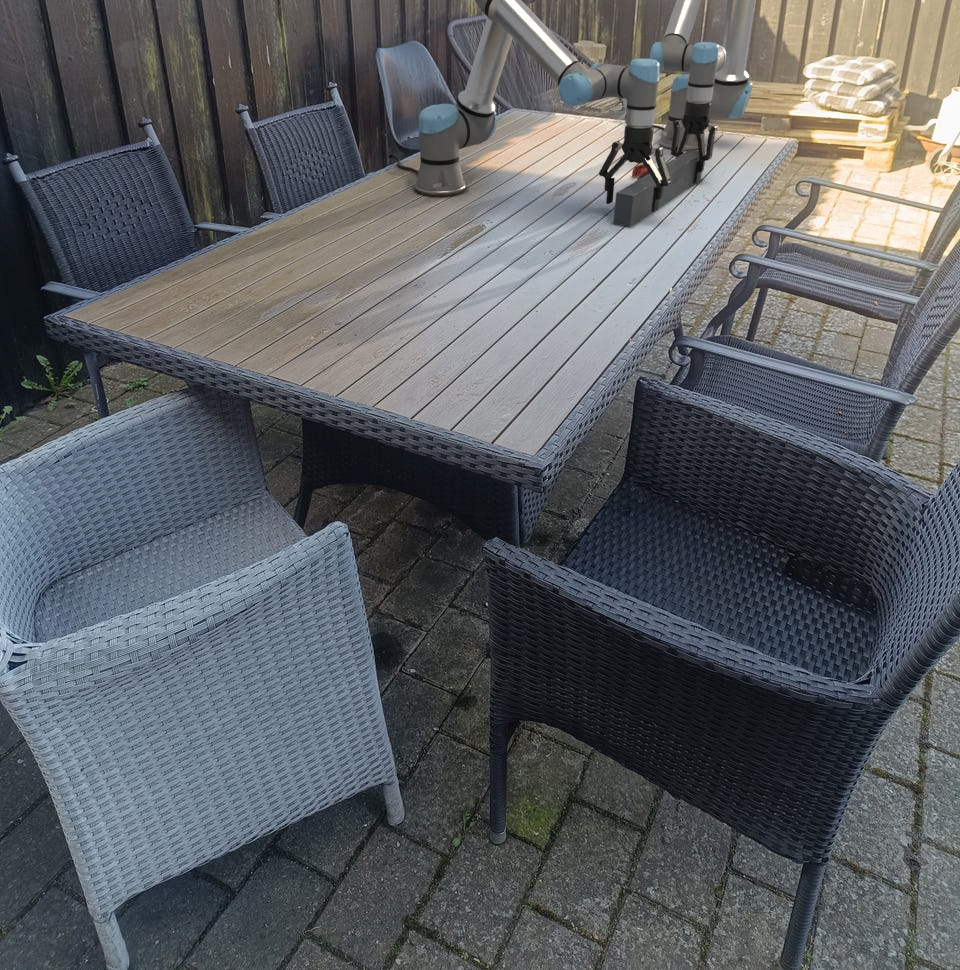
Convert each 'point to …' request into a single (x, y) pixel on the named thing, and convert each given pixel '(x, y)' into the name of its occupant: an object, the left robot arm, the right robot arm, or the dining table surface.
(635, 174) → the red irregular lump
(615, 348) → the dining table surface
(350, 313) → the dining table surface
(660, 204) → the post
